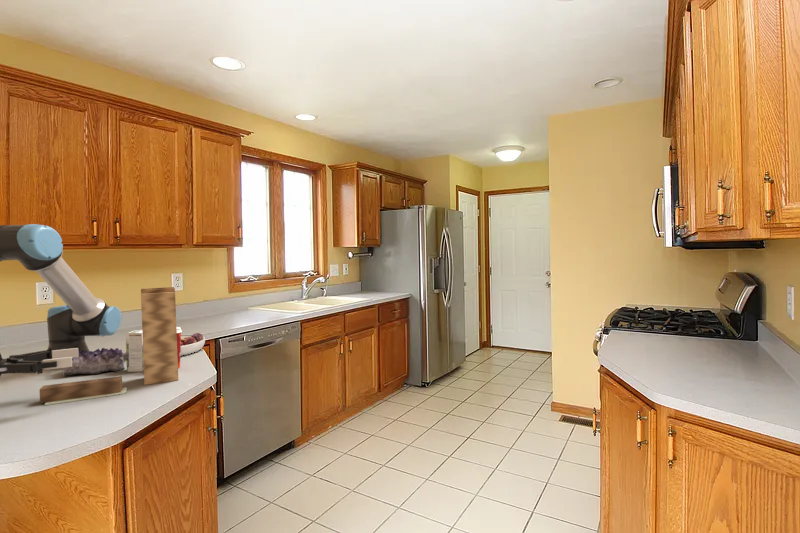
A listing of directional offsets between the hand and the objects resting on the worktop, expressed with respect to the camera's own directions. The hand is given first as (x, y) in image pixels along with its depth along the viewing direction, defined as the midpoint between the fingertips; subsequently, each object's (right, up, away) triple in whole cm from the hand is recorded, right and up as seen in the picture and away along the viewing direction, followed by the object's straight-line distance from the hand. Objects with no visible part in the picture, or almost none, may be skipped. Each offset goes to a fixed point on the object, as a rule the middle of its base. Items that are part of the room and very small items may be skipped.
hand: (75, 356), depth 134 cm
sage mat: (+3, -13, +2) cm, 13 cm away
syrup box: (+1, -12, +31) cm, 34 cm away
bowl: (-3, -11, +60) cm, 61 cm away
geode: (-15, -12, +30) cm, 36 cm away
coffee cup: (+12, -11, +33) cm, 37 cm away
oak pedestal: (+15, -12, +20) cm, 27 cm away
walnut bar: (+1, -12, +2) cm, 12 cm away
